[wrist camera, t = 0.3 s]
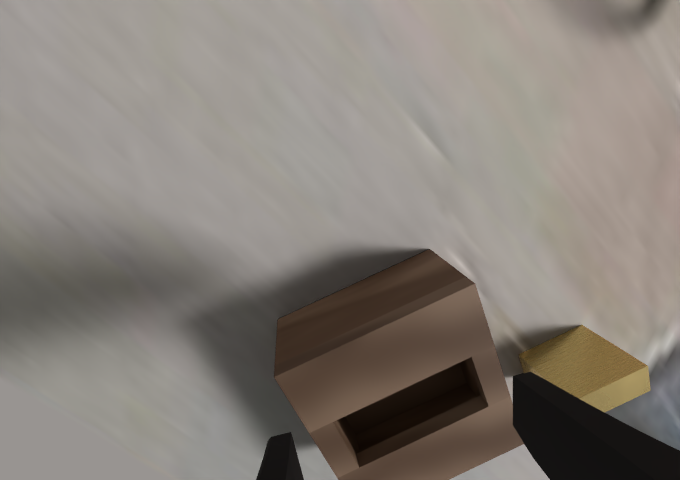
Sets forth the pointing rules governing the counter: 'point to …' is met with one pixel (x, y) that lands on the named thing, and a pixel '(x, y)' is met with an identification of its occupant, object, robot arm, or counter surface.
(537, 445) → the robot arm
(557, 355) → the block
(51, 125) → the counter surface
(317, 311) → the coin box
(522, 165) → the counter surface
